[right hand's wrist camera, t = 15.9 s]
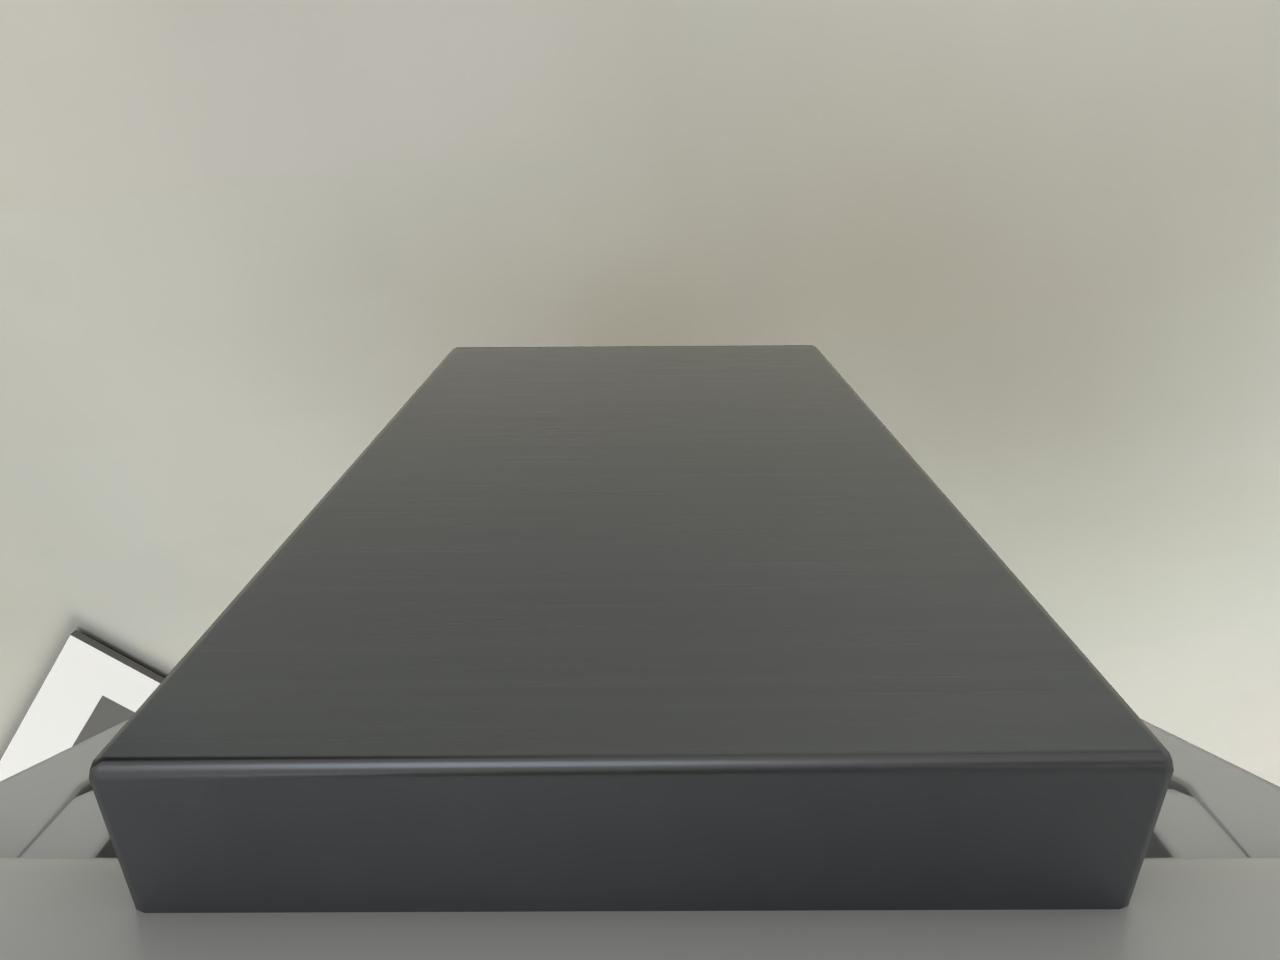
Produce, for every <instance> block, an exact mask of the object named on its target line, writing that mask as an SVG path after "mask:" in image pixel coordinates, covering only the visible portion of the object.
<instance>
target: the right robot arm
mask: <svg viewBox="0 0 1280 960" xmlns="http://www.w3.org/2000/svg"><path fill="white" fill-rule="evenodd" d="M128 720H129V719H128ZM128 720H126V721H124V722H122V723H120V724H118V725H116V726H114V727H112V728H110V729H108V730H106V731H103V732H101V733H99V734H97V735H95V736H93V737H91V738H89V739H87V740H85V741H83V742H81V743H79V744H77V745H75V746H72V747H70V748H68V749H66V750H64V751H62V752H60V753H58V754H56V755H54V756H52V757H50V758H48V759H46V760H44V761H42V762H39V763H37V764H35V765H33V766H31V767H29V768H27V769H25V770H23V771H21V772H19V773H17V774H15V775H13V776H11V777H8V778H6V779H4V780H2V781H0V960H1280V787H1279V786H1277V785H1274V784H1272V783H1270V782H1268V781H1266V780H1264V779H1262V778H1260V777H1258V776H1256V775H1254V774H1252V773H1250V772H1248V771H1246V770H1244V769H1242V768H1240V767H1238V766H1236V765H1234V764H1232V763H1230V762H1228V761H1226V760H1224V759H1221V758H1219V757H1217V756H1215V755H1213V754H1211V753H1209V752H1207V751H1205V750H1203V749H1201V748H1199V747H1197V746H1195V745H1193V744H1191V743H1189V742H1187V741H1185V740H1183V739H1181V738H1179V737H1177V736H1175V735H1173V734H1171V733H1169V732H1166V731H1164V730H1162V729H1160V728H1158V727H1156V726H1154V725H1152V724H1150V723H1148V722H1146V721H1144V720H1142V719H1141V720H1142V721H1143V723H1144V724H1145V725H1146V726H1147V727H1148V728H1149V730H1150V731H1151V732H1152V733H1153V734H1154V735H1155V736H1156V738H1157V739H1158V740H1159V741H1160V742H1161V743H1162V744H1163V746H1164V747H1165V748H1166V749H1167V750H1168V751H1169V753H1170V755H1171V758H1172V761H1173V768H1174V772H1173V775H1172V778H1171V780H1170V783H1169V786H1168V789H1167V792H1166V795H1165V798H1164V801H1163V804H1162V807H1161V810H1160V813H1159V816H1158V819H1157V822H1156V825H1155V828H1154V831H1153V834H1152V837H1151V840H1150V843H1149V846H1148V849H1147V852H1146V855H1145V858H1144V860H1143V863H1142V866H1141V869H1140V872H1139V875H1138V878H1137V881H1136V884H1135V887H1134V890H1133V893H1132V896H1131V899H1130V902H1129V905H1128V906H1127V907H1124V908H1122V909H1080V910H818V911H556V912H293V913H143V912H141V911H139V910H136V907H135V905H134V902H133V899H132V896H131V894H130V891H129V888H128V885H127V883H126V880H125V877H124V874H123V872H122V869H121V866H120V863H119V861H118V858H117V855H116V852H115V850H114V847H113V844H112V841H111V839H110V836H109V833H108V830H107V828H106V825H105V822H104V819H103V817H102V814H101V811H100V808H99V806H98V803H97V800H96V797H95V795H94V792H93V789H92V786H91V784H90V781H89V772H90V767H91V765H92V762H93V760H94V759H95V758H96V757H97V755H98V754H99V753H100V752H101V751H102V750H103V749H104V747H105V746H106V745H107V744H108V743H109V742H110V741H111V739H112V738H113V737H114V736H115V735H116V734H117V733H118V731H119V730H120V729H121V728H122V727H123V726H124V725H125V723H126V722H127V721H128Z"/></svg>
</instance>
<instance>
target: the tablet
mask: <svg viewBox="0 0 1280 960" xmlns="http://www.w3.org/2000/svg"><path fill="white" fill-rule="evenodd" d="M164 679H165V678H163V677H162V676H160V675H158V674H156V673H154V672H152V671H151V670H149V669H147V668H145V667H143V666H141V665H140V664H138V663H136V662H134V661H132V660H130V659H128V658H127V657H125V656H123V655H121V654H119V653H117V652H116V651H114V650H112V649H110V648H108V647H106V646H105V645H103V644H101V643H99V642H97V641H95V640H93V639H92V638H90V637H88V636H86V635H84V634H82V633H81V632H79V631H77V630H76V631H74V632H73V633H72V634H71V635H70V637H69V638H68V640H67V642H66V644H65V646H64V647H63V649H62V651H61V653H60V655H59V656H58V658H57V660H56V662H55V664H54V665H53V667H52V669H51V671H50V672H49V674H48V676H47V678H46V680H45V681H44V683H43V685H42V687H41V689H40V690H39V692H38V694H37V696H36V698H35V699H34V701H33V703H32V705H31V707H30V708H29V710H28V712H27V714H26V716H25V717H24V719H23V721H22V723H21V724H20V726H19V728H18V730H17V732H16V733H15V735H14V737H13V739H12V741H11V742H10V744H9V746H8V748H7V750H6V751H5V753H4V755H3V757H2V759H1V760H0V781H2V780H4V779H6V778H8V777H11V776H13V775H15V774H17V773H19V772H21V771H23V770H25V769H27V768H29V767H31V766H33V765H35V764H37V763H39V762H42V761H44V760H46V759H48V758H50V757H52V756H54V755H56V754H58V753H60V752H62V751H64V750H66V749H68V748H70V747H72V746H75V745H77V744H79V743H81V742H83V741H85V740H87V739H89V738H91V737H93V736H95V735H97V734H99V733H101V732H103V731H106V730H108V729H110V728H112V727H114V726H116V725H118V724H120V723H122V722H124V721H126V720H128V719H130V718H131V717H132V715H133V714H134V713H135V712H136V711H137V710H138V709H139V707H140V706H141V705H142V704H143V703H144V702H145V701H146V699H147V698H148V697H149V696H150V695H151V694H152V693H153V691H154V690H155V689H156V688H157V687H158V686H159V685H160V683H161V682H162V681H163V680H164Z"/></svg>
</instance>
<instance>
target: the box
mask: <svg viewBox="0 0 1280 960" xmlns="http://www.w3.org/2000/svg"><path fill="white" fill-rule="evenodd" d="M1173 772H1174V768H1173V761H1172V758H1171V755H1170V753H1169V751H1168V750H1167V749H1166V748H1165V747H1164V746H1163V744H1162V743H1161V742H1160V741H1159V740H1158V739H1157V738H1156V736H1155V735H1154V734H1153V733H1152V732H1151V731H1150V730H1149V728H1148V727H1147V726H1146V725H1145V724H1144V723H1143V721H1142V720H1141V719H1140V718H1139V717H1138V716H1137V715H1136V713H1135V712H1134V711H1133V710H1132V709H1131V708H1130V707H1129V705H1128V704H1127V703H1126V702H1125V701H1124V700H1123V699H1122V697H1121V696H1120V695H1119V694H1118V693H1117V692H1116V691H1115V689H1114V688H1113V687H1112V686H1111V685H1110V684H1109V683H1108V681H1107V680H1106V679H1105V678H1104V677H1103V676H1102V675H1101V673H1100V672H1099V671H1098V670H1097V669H1096V668H1095V666H1094V665H1093V664H1092V663H1091V662H1090V661H1089V660H1088V658H1087V657H1086V656H1085V655H1084V654H1083V653H1082V652H1081V650H1080V649H1079V648H1078V647H1077V646H1076V645H1075V644H1074V642H1073V641H1072V640H1071V639H1070V638H1069V637H1068V636H1067V634H1066V633H1065V632H1064V631H1063V630H1062V629H1061V628H1060V626H1059V625H1058V624H1057V623H1056V622H1055V621H1054V620H1053V618H1052V617H1051V616H1050V615H1049V614H1048V613H1047V611H1046V610H1045V609H1044V608H1043V607H1042V606H1041V605H1040V603H1039V602H1038V601H1037V600H1036V599H1035V598H1034V597H1033V595H1032V594H1031V593H1030V592H1029V591H1028V590H1027V589H1026V587H1025V586H1024V585H1023V584H1022V583H1021V582H1020V581H1019V579H1018V578H1017V577H1016V576H1015V575H1014V574H1013V573H1012V571H1011V570H1010V569H1009V568H1008V567H1007V566H1006V565H1005V563H1004V562H1003V561H1002V560H1001V559H1000V558H999V556H998V555H997V554H996V553H995V552H994V551H993V550H992V548H991V547H990V546H989V545H988V544H987V543H986V542H985V540H984V539H983V538H982V537H981V536H980V535H979V534H978V532H977V531H976V530H975V529H974V528H973V527H972V526H971V524H970V523H969V522H968V521H967V520H966V519H965V518H964V516H963V515H962V514H961V513H960V512H959V511H958V510H957V508H956V507H955V506H954V505H953V504H952V503H951V501H950V500H949V499H948V498H947V497H946V496H945V495H944V493H943V492H942V491H941V490H940V489H939V488H938V487H937V485H936V484H935V483H934V482H933V481H932V480H931V479H930V477H929V476H928V475H927V474H926V473H925V472H924V471H923V469H922V468H921V467H920V466H919V465H918V464H917V463H916V461H915V460H914V459H913V458H912V457H911V456H910V455H909V453H908V452H907V451H906V450H905V449H904V448H903V446H902V445H901V444H900V443H899V442H898V441H897V440H896V438H895V437H894V436H893V435H892V434H891V433H890V432H889V430H888V429H887V428H886V427H885V426H884V425H883V424H882V422H881V421H880V420H879V419H878V418H877V417H876V416H875V414H874V413H873V412H872V411H871V410H870V409H869V408H868V406H867V405H866V404H865V403H864V402H863V401H862V400H861V398H860V397H859V396H858V395H857V394H856V393H855V391H854V390H853V389H852V388H851V387H850V386H849V385H848V383H847V382H846V381H845V380H844V379H843V378H842V377H841V375H840V374H839V373H838V372H837V371H836V370H835V369H834V367H833V366H832V365H831V364H830V363H829V362H828V361H827V359H826V358H825V357H824V356H823V355H822V354H821V353H820V351H819V350H818V349H817V348H816V347H814V346H812V345H784V346H619V347H457V348H455V349H453V350H452V351H451V352H450V353H449V354H448V356H447V357H446V358H445V359H444V360H443V361H442V362H441V364H440V365H439V366H438V367H437V368H436V369H435V370H434V372H433V373H432V374H431V375H430V376H429V377H428V378H427V380H426V381H425V382H424V383H423V384H422V385H421V386H420V388H419V389H418V390H417V391H416V392H415V393H414V394H413V396H412V397H411V398H410V399H409V400H408V401H407V402H406V404H405V405H404V406H403V407H402V408H401V409H400V410H399V412H398V413H397V414H396V415H395V416H394V417H393V418H392V420H391V421H390V422H389V423H388V424H387V425H386V426H385V428H384V429H383V430H382V431H381V432H380V433H379V434H378V436H377V437H376V438H375V439H374V440H373V441H372V442H371V444H370V445H369V446H368V447H367V448H366V449H365V450H364V452H363V453H362V454H361V455H360V456H359V457H358V458H357V460H356V461H355V462H354V463H353V464H352V465H351V466H350V468H349V469H348V470H347V471H346V472H345V473H344V474H343V476H342V477H341V478H340V479H339V480H338V481H337V482H336V484H335V485H334V486H333V487H332V488H331V489H330V490H329V492H328V493H327V494H326V495H325V496H324V497H323V498H322V500H321V501H320V502H319V503H318V504H317V505H316V506H315V508H314V509H313V510H312V511H311V512H310V513H309V514H308V516H307V517H306V518H305V519H304V520H303V521H302V522H301V524H300V525H299V526H298V527H297V528H296V529H295V530H294V531H293V533H292V534H291V535H290V536H289V537H288V538H287V539H286V541H285V542H284V543H283V544H282V545H281V546H280V547H279V549H278V550H277V551H276V552H275V553H274V554H273V555H272V557H271V558H270V559H269V560H268V561H267V562H266V563H265V565H264V566H263V567H262V568H261V569H260V570H259V571H258V573H257V574H256V575H255V576H254V577H253V578H252V579H251V581H250V582H249V583H248V584H247V585H246V586H245V587H244V589H243V590H242V591H241V592H240V593H239V594H238V595H237V597H236V598H235V599H234V600H233V601H232V602H231V603H230V605H229V606H228V607H227V608H226V609H225V610H224V611H223V613H222V614H221V615H220V616H219V617H218V618H217V619H216V621H215V622H214V623H213V624H212V625H211V626H210V627H209V629H208V630H207V631H206V632H205V633H204V634H203V635H202V637H201V638H200V639H199V640H198V641H197V642H196V643H195V645H194V646H193V647H192V648H191V649H190V650H189V651H188V653H187V654H186V655H185V656H184V657H183V658H182V659H181V661H180V662H179V663H178V664H177V665H176V666H175V667H174V669H173V670H172V671H171V672H170V673H169V674H168V675H167V677H166V678H165V679H164V680H163V681H162V682H161V683H160V685H159V686H158V687H157V688H156V689H155V690H154V691H153V693H152V694H151V695H150V696H149V697H148V698H147V699H146V701H145V702H144V703H143V704H142V705H141V706H140V707H139V709H138V710H137V711H136V712H135V713H134V714H133V715H132V717H131V718H130V719H129V720H128V721H127V722H126V723H125V725H124V726H123V727H122V728H121V729H120V730H119V731H118V733H117V734H116V735H115V736H114V737H113V738H112V739H111V741H110V742H109V743H108V744H107V745H106V746H105V747H104V749H103V750H102V751H101V752H100V753H99V754H98V755H97V757H96V758H95V759H94V760H93V762H92V765H91V767H90V772H89V781H90V784H91V786H92V789H93V792H94V795H95V797H96V800H97V803H98V806H99V808H100V811H101V814H102V817H103V819H104V822H105V825H106V828H107V830H108V833H109V836H110V839H111V841H112V844H113V847H114V850H115V852H116V855H117V858H118V861H119V863H120V866H121V869H122V872H123V874H124V877H125V880H126V883H127V885H128V888H129V891H130V894H131V896H132V899H133V902H134V905H135V907H136V910H139V911H141V912H143V913H293V912H556V911H818V910H1080V909H1122V908H1124V907H1127V906H1128V905H1129V902H1130V899H1131V896H1132V893H1133V890H1134V887H1135V884H1136V881H1137V878H1138V875H1139V872H1140V869H1141V866H1142V863H1143V860H1144V858H1145V855H1146V852H1147V849H1148V846H1149V843H1150V840H1151V837H1152V834H1153V831H1154V828H1155V825H1156V822H1157V819H1158V816H1159V813H1160V810H1161V807H1162V804H1163V801H1164V798H1165V795H1166V792H1167V789H1168V786H1169V783H1170V780H1171V778H1172V775H1173Z"/></svg>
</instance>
